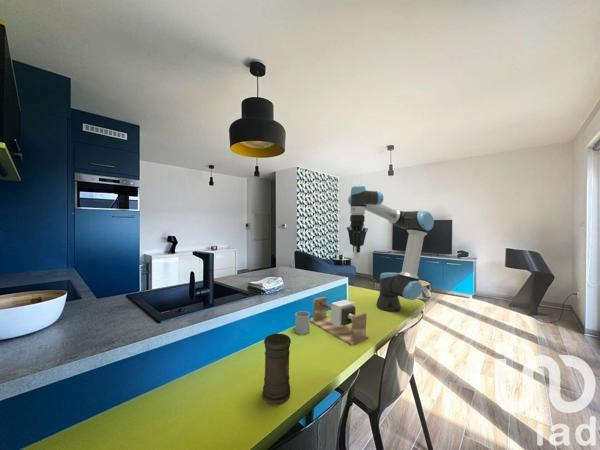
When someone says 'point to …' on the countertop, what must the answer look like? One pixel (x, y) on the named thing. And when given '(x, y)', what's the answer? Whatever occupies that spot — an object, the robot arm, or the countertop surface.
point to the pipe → (349, 315)
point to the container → (276, 369)
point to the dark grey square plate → (344, 315)
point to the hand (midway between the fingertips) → (356, 258)
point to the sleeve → (339, 311)
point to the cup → (302, 322)
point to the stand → (343, 333)
